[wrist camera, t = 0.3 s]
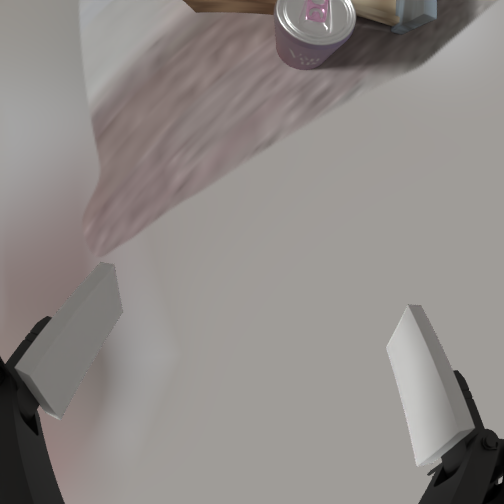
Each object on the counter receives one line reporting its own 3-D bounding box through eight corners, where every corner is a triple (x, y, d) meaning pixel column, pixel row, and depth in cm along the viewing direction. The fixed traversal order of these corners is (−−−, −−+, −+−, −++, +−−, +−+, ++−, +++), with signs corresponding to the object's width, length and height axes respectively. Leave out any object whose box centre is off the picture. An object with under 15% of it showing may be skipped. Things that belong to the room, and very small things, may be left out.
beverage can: (330, 31, 26) (362, -12, 13) (323, 75, 29) (354, 55, 16) (279, 22, 26) (278, -29, 13) (273, 66, 29) (268, 39, 16)
